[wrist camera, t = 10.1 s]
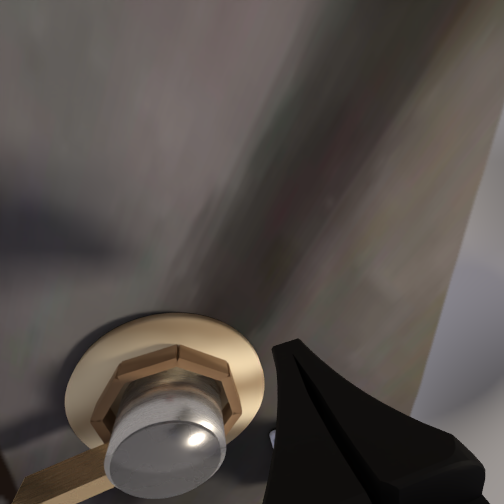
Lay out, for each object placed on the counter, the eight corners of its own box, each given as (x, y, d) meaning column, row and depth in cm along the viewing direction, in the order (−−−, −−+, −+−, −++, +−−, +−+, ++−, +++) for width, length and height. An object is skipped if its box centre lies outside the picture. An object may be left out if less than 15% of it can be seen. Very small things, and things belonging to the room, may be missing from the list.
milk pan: (199, 350, 22) (201, 401, 17) (232, 413, 25) (241, 471, 20) (10, 427, 21) (-39, 503, 16) (71, 483, 24) (44, 559, 19)
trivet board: (275, 420, 28) (282, 444, 26) (117, 476, 26) (110, 508, 24) (240, 288, 22) (246, 304, 19) (29, 350, 20) (8, 376, 18)
